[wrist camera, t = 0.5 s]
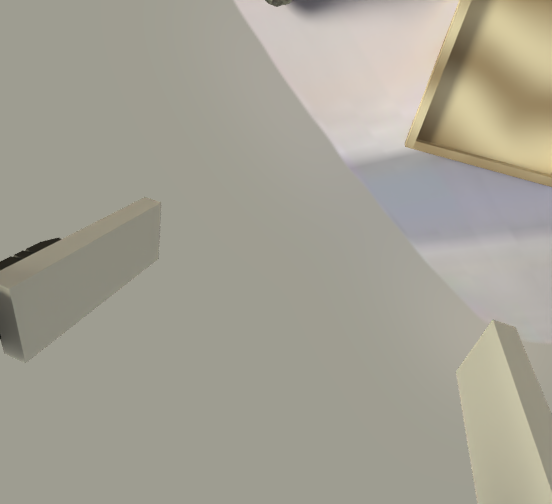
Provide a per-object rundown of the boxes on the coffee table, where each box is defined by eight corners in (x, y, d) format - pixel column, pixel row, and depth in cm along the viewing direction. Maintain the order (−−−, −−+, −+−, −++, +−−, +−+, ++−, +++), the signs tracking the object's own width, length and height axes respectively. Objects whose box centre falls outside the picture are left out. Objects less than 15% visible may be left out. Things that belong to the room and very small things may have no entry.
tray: (470, -29, 28) (474, -35, 26) (661, 7, 26) (680, 2, 24) (404, 142, 35) (404, 146, 33) (552, 183, 32) (560, 189, 31)
